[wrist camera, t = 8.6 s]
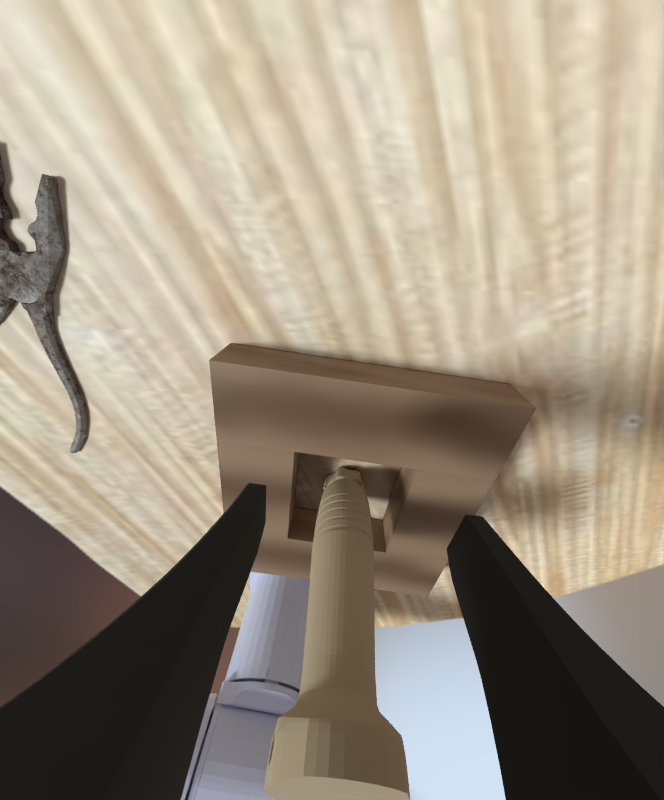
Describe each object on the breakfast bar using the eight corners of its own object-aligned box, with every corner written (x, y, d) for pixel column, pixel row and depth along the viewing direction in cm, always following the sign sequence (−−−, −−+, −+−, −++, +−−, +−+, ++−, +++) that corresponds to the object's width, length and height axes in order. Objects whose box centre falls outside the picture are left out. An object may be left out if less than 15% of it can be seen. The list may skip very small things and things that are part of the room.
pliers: (-39, 423, 22) (-180, 76, 12) (-26, 417, 23) (-149, 86, 13) (87, 459, 23) (48, 164, 13) (95, 452, 24) (64, 169, 14)
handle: (308, 499, 24) (255, 799, 11) (325, 443, 21) (280, 768, 8) (362, 511, 24) (372, 818, 11) (386, 457, 21) (439, 794, 8)
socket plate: (420, 563, 27) (427, 596, 25) (240, 537, 27) (229, 568, 25) (509, 384, 18) (536, 408, 15) (230, 343, 18) (209, 360, 15)
